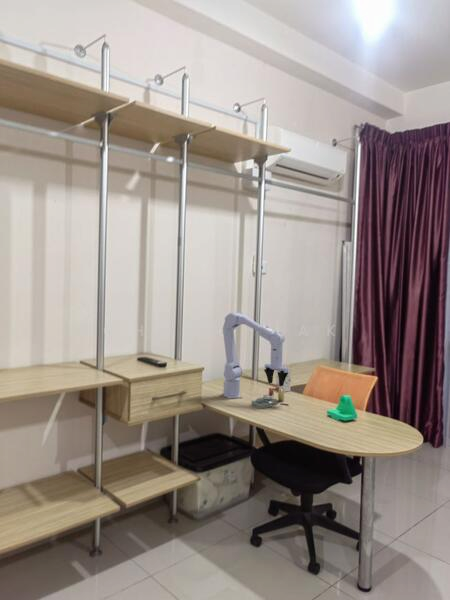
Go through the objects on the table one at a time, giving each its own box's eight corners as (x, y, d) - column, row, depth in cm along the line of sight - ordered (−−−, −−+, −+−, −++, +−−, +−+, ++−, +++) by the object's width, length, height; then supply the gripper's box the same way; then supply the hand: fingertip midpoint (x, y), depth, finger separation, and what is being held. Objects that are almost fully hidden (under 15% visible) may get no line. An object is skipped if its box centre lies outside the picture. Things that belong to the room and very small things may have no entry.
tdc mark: (280, 404, 240) (280, 403, 240) (280, 403, 241) (280, 403, 241) (288, 405, 239) (288, 404, 239) (288, 404, 240) (288, 404, 240)
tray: (251, 404, 239) (252, 400, 239) (264, 403, 242) (265, 399, 241) (258, 408, 232) (258, 404, 232) (271, 407, 235) (271, 403, 235)
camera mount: (325, 415, 223) (326, 393, 223) (338, 413, 227) (339, 392, 227) (344, 423, 213) (345, 400, 212) (356, 420, 217) (357, 398, 216)
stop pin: (277, 400, 247) (277, 389, 247) (282, 400, 248) (282, 388, 248) (279, 402, 245) (280, 390, 244) (284, 401, 246) (285, 390, 246)
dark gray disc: (252, 400, 246) (252, 398, 246) (271, 398, 251) (271, 396, 251) (262, 406, 236) (262, 404, 236) (281, 404, 241) (282, 402, 241)
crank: (269, 401, 241) (269, 392, 241) (262, 400, 242) (262, 391, 242) (275, 396, 251) (275, 388, 250) (268, 395, 252) (268, 387, 252)
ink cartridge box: (275, 388, 274) (276, 362, 273) (283, 387, 276) (283, 362, 275) (282, 392, 266) (283, 365, 265) (290, 391, 268) (291, 365, 267)
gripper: (260, 356, 244) (259, 382, 244) (281, 360, 232) (280, 388, 233) (270, 354, 248) (269, 381, 249) (291, 359, 237) (290, 386, 238)
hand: (275, 384), depth 241 cm, fingers open, 7 cm apart
